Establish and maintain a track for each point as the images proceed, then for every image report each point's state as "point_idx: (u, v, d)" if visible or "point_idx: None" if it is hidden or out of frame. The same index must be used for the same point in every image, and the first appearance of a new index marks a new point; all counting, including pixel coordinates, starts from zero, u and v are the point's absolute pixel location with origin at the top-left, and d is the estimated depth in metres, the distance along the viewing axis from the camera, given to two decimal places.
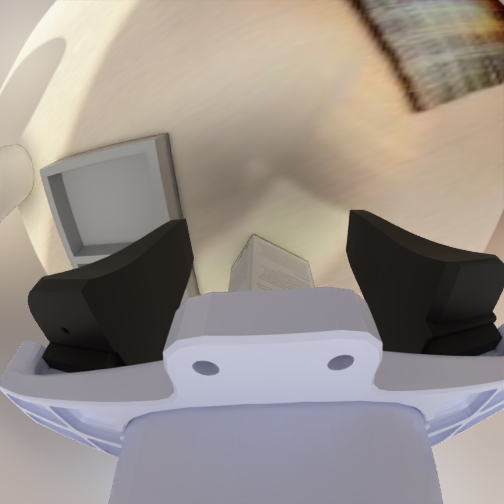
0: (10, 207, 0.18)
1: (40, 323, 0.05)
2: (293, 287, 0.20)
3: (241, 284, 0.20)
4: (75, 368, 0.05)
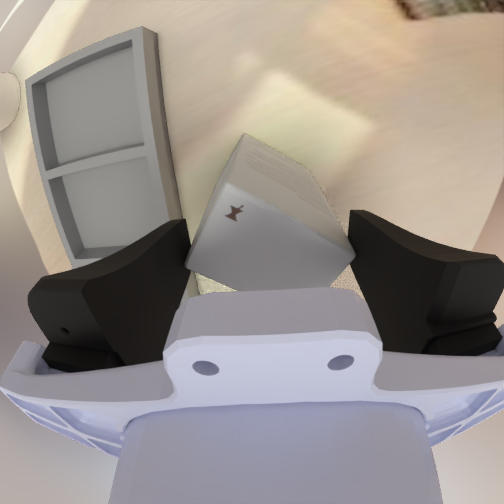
0: None
1: (40, 323, 0.05)
2: (292, 173, 0.16)
3: (227, 165, 0.15)
4: (75, 368, 0.05)
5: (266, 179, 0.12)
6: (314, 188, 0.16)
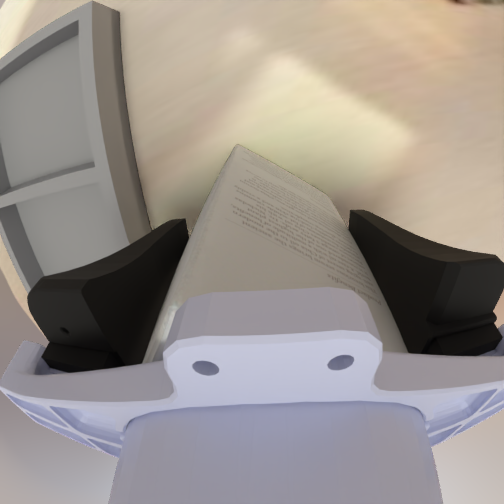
0: None
1: (39, 323, 0.05)
2: (311, 213, 0.10)
3: (206, 202, 0.10)
4: (75, 368, 0.05)
5: (272, 251, 0.06)
6: (344, 237, 0.10)
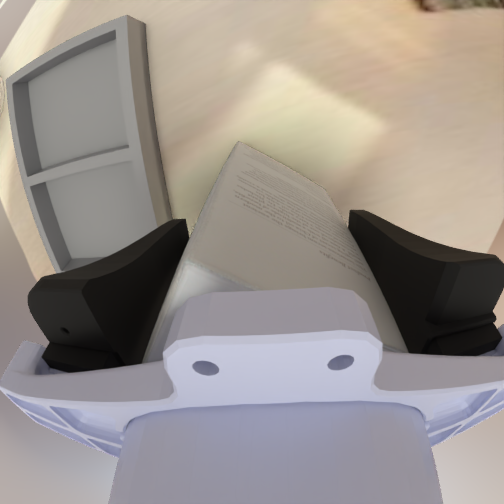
0: None
1: (40, 323, 0.05)
2: (306, 201, 0.11)
3: (211, 192, 0.11)
4: (75, 368, 0.05)
5: (269, 228, 0.07)
6: (337, 223, 0.11)
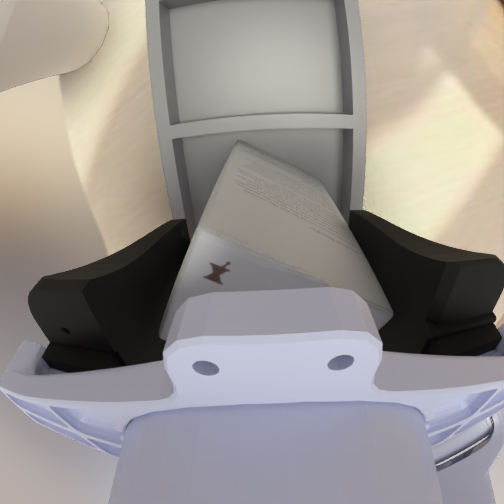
0: (67, 51, 0.10)
1: (40, 323, 0.05)
2: (301, 190, 0.12)
3: None
4: (75, 368, 0.05)
5: (266, 208, 0.08)
6: (329, 208, 0.12)
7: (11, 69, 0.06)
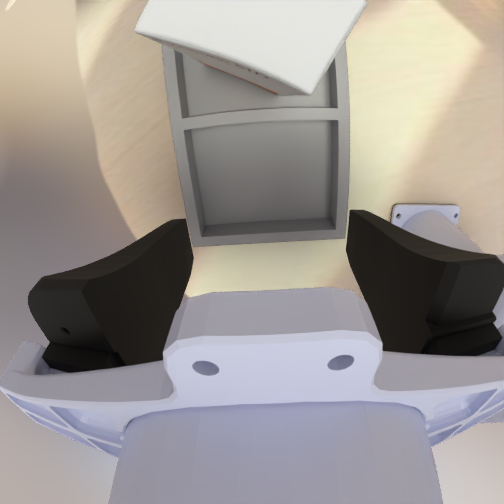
0: None
1: (40, 323, 0.05)
2: None
3: None
4: (75, 368, 0.05)
5: None
6: None
7: None
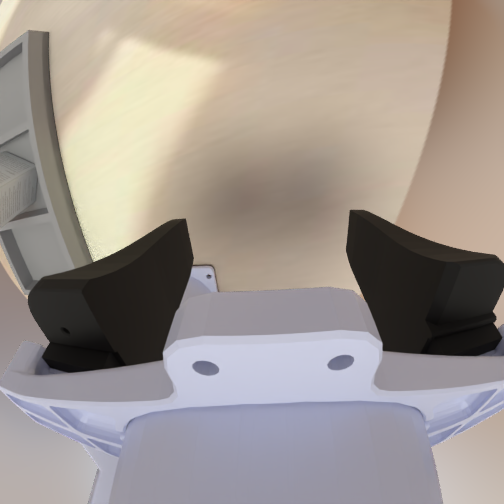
0: None
1: (40, 323, 0.05)
2: None
3: None
4: (75, 368, 0.05)
5: None
6: None
7: None
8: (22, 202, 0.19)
